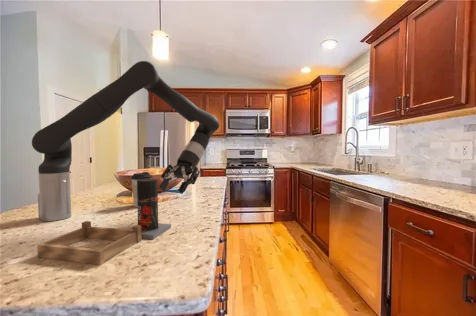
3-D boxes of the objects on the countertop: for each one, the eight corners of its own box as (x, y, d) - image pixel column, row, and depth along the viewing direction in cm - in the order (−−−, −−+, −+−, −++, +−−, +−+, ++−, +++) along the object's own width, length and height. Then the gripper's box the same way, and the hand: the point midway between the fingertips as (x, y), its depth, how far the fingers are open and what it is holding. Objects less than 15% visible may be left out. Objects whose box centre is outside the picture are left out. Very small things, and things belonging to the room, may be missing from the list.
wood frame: (36, 256, 58) (36, 239, 57) (86, 235, 71) (86, 221, 71) (101, 265, 53) (101, 245, 53) (141, 240, 67) (141, 225, 67)
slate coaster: (123, 236, 71) (123, 232, 71) (143, 225, 80) (143, 222, 80) (153, 239, 68) (153, 235, 68) (170, 227, 78) (170, 224, 78)
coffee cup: (145, 208, 103) (144, 174, 103) (127, 207, 105) (126, 173, 105) (156, 203, 112) (156, 171, 112) (139, 202, 114) (138, 171, 113)
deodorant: (162, 225, 76) (161, 179, 76) (149, 232, 71) (148, 181, 70) (147, 223, 78) (146, 178, 78) (133, 229, 73) (132, 180, 72)
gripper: (172, 148, 93) (149, 182, 84) (202, 150, 87) (181, 187, 78) (181, 160, 98) (161, 194, 89) (210, 163, 92) (191, 199, 83)
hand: (170, 190), depth 84 cm, fingers open, 8 cm apart
